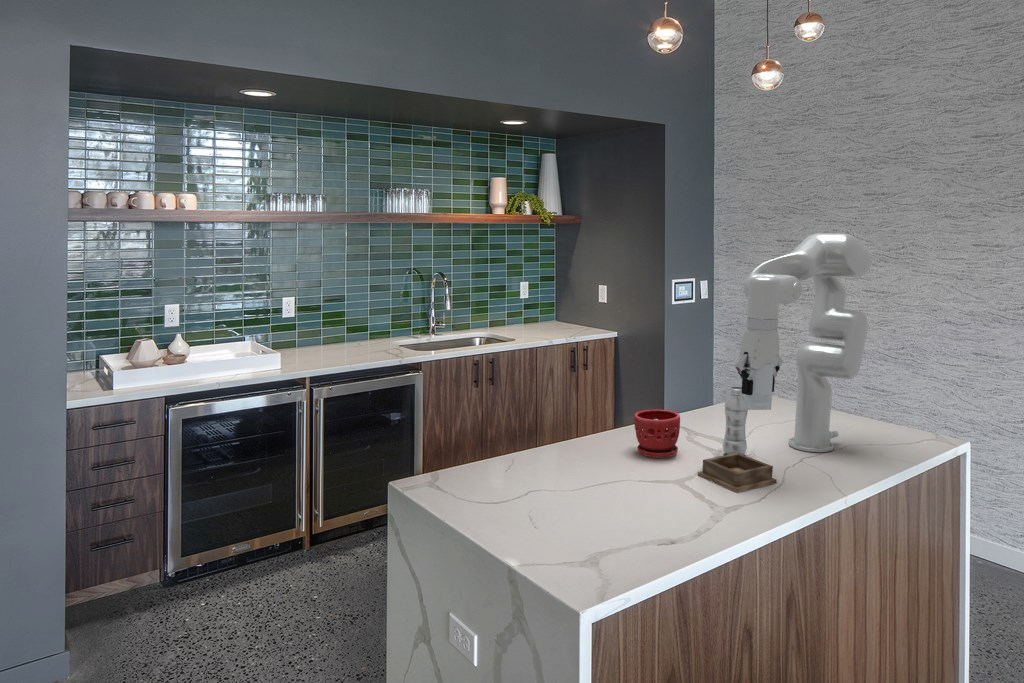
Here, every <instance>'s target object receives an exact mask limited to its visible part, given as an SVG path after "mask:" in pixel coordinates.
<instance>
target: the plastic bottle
mask: <svg viewBox="0 0 1024 683" xmlns="http://www.w3.org/2000/svg"><path fill="white" fill-rule="evenodd" d="M741 391H742V386H730V391H729V394H730V395H729V397H728V398H727V399H726V401H725V402H724V415H725V432H724V438H723V442H722V443H723V444H722V450H723V452H724V454H725V455H729V454H734V453H740V454H742V455H745V454H746V453H747V449H748V445H747V444H748V443H747V438H746V428H747V426H746V424H747V418H748V412H749V410H748V409H747V408H745V407H744V394H742V392H741Z"/></svg>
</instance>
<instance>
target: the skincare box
mask: <svg viewBox="0 0 1024 683" xmlns="http://www.w3.org/2000/svg"><path fill="white" fill-rule="evenodd" d="M773 366H774V365H773V364H766V365H764V367H763V369H759V370H755V372H754V374H753V377H752V379H751V380H753V394H752V395H746V394H744V395H743V397H744V407H745V408H747V409H748V411H757V410H758V411H760V410H761V411H762V410H763V411H766V410H767V411H768V410H769V411H771V410H772V401H773V400H772V398H773V392H772V385H773ZM748 367H750V365H748ZM749 371H750V370H748V371H747V373H748V374H749Z"/></svg>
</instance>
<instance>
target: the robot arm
mask: <svg viewBox="0 0 1024 683" xmlns="http://www.w3.org/2000/svg"><path fill="white" fill-rule="evenodd" d="M871 264H872V256H871V253H870V252H869V250H868V248H867V246H865V245H864V244H863V243H862V242H861V241H859V239H857V237H855V236H853V235H851V234H848V233H841V232H840V233H838V232H837V233H833V232H832V233H829V232H828V233H826V232H825V233H824V232H822V233H820V232H817V233H813V234H810V235H808V236H807V237H805V238H804V239H803V240H802V241H801V242H800V243H799V244H798V245H797V246H796V247H795V248H794V249H793V250H792V251H791V252H790V253H787V254H784V255H780V256H779V257H776V258H773V259H770V260H768V261H765V262H763V263H760V264H759V265H758V266H756V267H755V268H754V269H753V270H752V271H751V272H750V273H749V275H748V276H747V277H746V278H745V282H744V285H743V293H744V296H745V297H746V298H747V310H746V325H745V326H746V329H743V332H742V337H741V341H740V348H739V353H738V361H737V362H736V363H735V365H734V367H735V369H736V371H737V374H738V375H739V376H740V379H741V387H742V391H741V392H742V394H746V395H752V394H753V380H751V379H752V377H753V374H754V372H755V370H759V369H763V367H764V365H766V364H773V365H774V366H773V385H772V393H774V392H775V385H776V384H775V382H776V381H775V380H776V378H777V376H778V371H779V370H780V368H781V367H782V365H783V363H784V359H782V357H781V356H780V339H779V331H778V326H779V325H778V324H779V310H780V309H779V305H790V304H793V303H795V302H797V301H798V300H799V299H800V297H801V295H802V292H803V284H802V281H805V280H808V279H811V278H812V281H813V283H814V290H815V291H814V298H813V303H812V308H811V312H810V316H809V319H808V320H809V323H808V332H809V334H810V336H811V337H813V338H815V339H820V340H827V341H833V342H834V341H835V342H843V343H844V345H841V344H832V343H826V342H817V341H815V342H814V341H812V342H805V343H803V344H801V345H799V347H798V348H797V350H796V353H795V363H796V371H797V372H796V374H797V390H796V392H797V394H796V402H795V404H796V405H795V406H796V407H795V421H794V422H795V424H794V435H793V437H790V438H789V439H788V445H789V446H790V447H792V448H793V449H796V450H799V451H803V452H808V453H828V452H829V453H830V451H833V450H834V448H835V444H834V443H833V442H832V441H831V440H832V439H833V438H838V437H839V431H837V430H833V431H830V428H831V427H830V425H831V412H832V411H831V410H832V398H833V392H832V391H833V390H832V386H831V383H830V382H829V381H828V379H827V378H836V379H843V380H852V379H855V378H856V376H857V375H858V374H859V372H860V368H861V365H862V362H863V355H864V351H865V347H866V346H865V345H866V342H867V336H868V330H869V322H868V317H867V315H866V314H865V313H864V312H863V311H861V310H857V309H853V308H852V309H850V308H845V304H846V299H847V292H846V288H845V287H844V284H843V283H842V282H841V280H840V279H839V278H838V277H853V278H855V277H856V278H859V277H863V276H865V275H867V274H868V272H870V271H869V270H870V269H871ZM748 365H750V367H748ZM748 370H750V371H749V374H748V373H747V371H748Z"/></svg>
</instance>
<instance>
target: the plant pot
mask: <svg viewBox="0 0 1024 683" xmlns="http://www.w3.org/2000/svg"><path fill="white" fill-rule="evenodd" d="M633 416H634V417H633V419H634V429H635V437H636V440H637V442H638V445H637V451H638V453H640V454H641V455H642V456H645V457H647V456H648V457H647V458H656V459H661V458H662V459H665V458H666V459H667V458H670V457H673V456H674V455H676V454H677V453H678V451H679V447H678V446H677V445H676V444H677V442H678V440H679V436H680V430H681V429H680V428H681V415H680V413H678V412H675V411H673V410H669V409H667V410H666V409H645V410H639V411H637V412H636V413H635V414H634V415H633Z"/></svg>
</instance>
